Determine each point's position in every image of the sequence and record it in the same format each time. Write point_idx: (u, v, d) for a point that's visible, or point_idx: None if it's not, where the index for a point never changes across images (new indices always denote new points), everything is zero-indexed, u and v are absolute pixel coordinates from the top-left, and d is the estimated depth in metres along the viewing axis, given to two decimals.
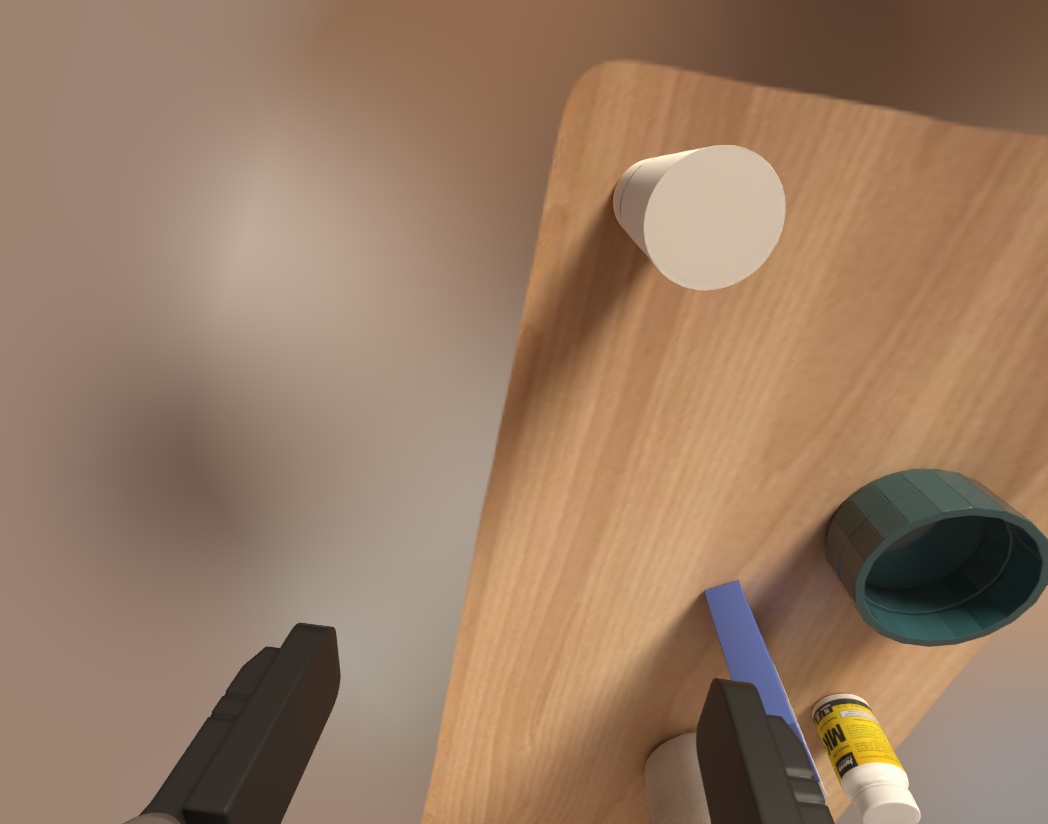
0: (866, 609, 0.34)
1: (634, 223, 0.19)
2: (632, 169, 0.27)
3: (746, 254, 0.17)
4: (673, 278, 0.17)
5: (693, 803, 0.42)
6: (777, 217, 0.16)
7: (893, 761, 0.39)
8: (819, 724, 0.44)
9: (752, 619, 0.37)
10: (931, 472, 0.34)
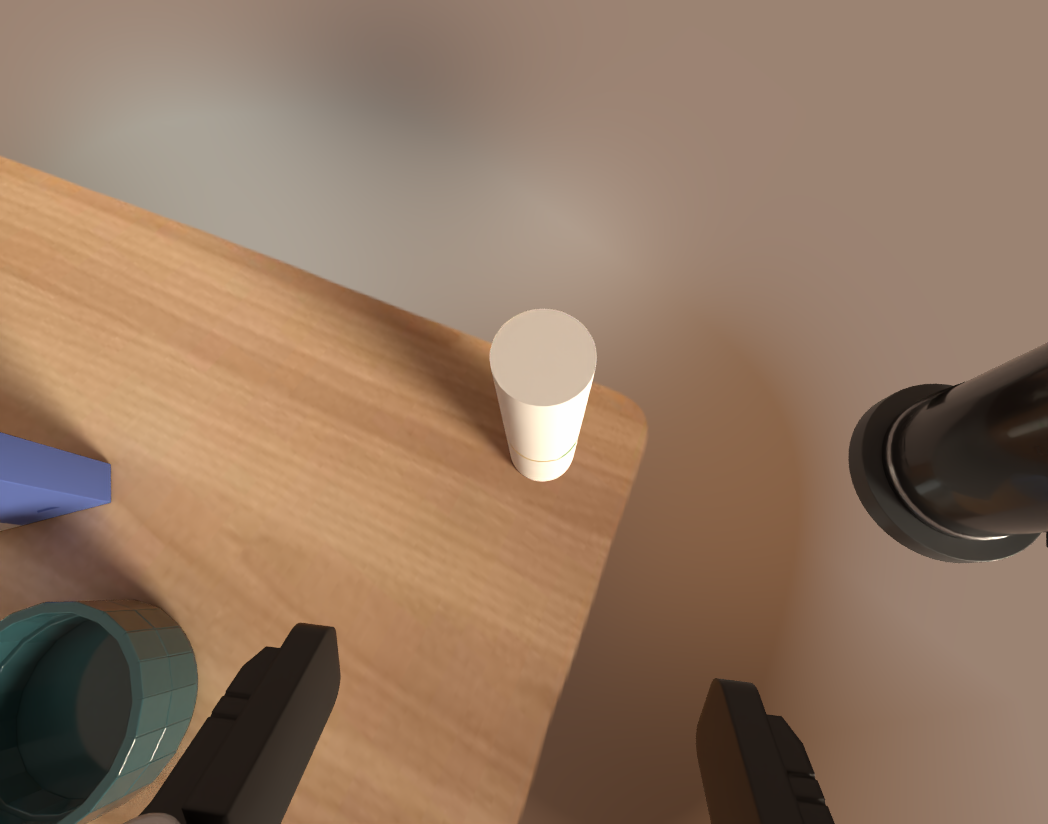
0: (26, 616, 0.28)
1: None
2: None
3: (513, 377, 0.21)
4: (505, 325, 0.21)
5: None
6: (536, 400, 0.20)
7: None
8: None
9: (59, 490, 0.31)
10: (187, 716, 0.30)
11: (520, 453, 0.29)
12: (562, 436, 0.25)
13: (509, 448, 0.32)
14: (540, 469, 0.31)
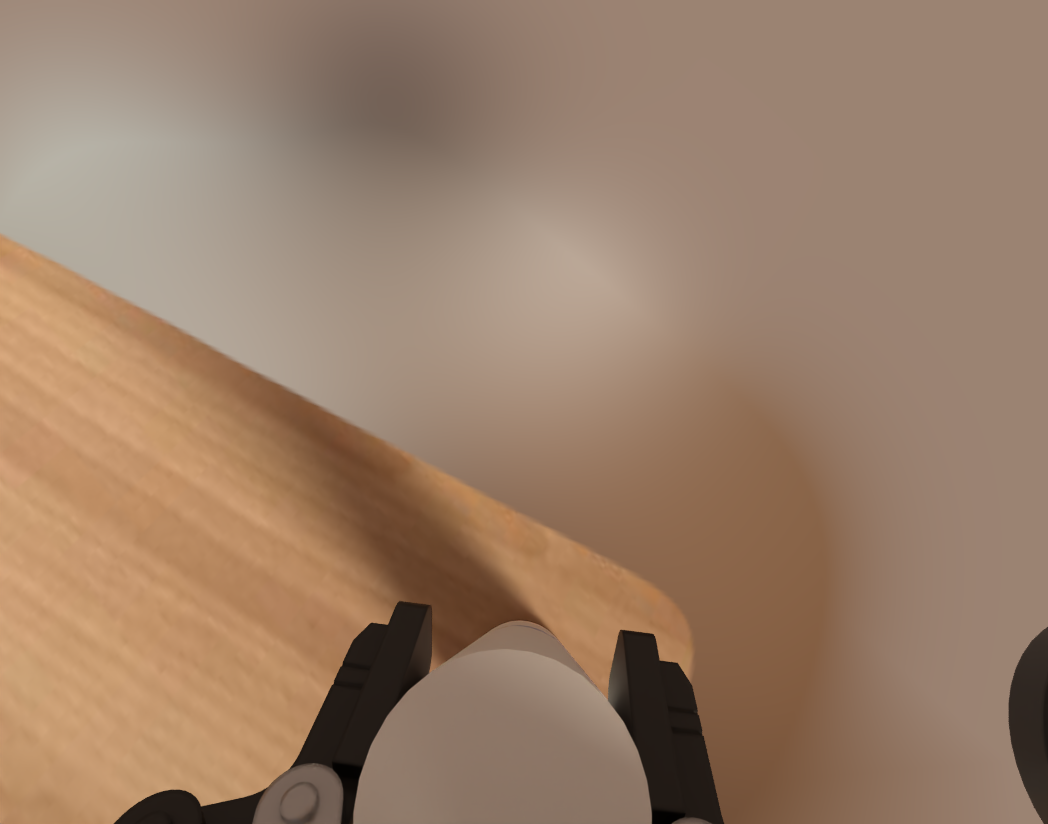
0: None
1: (525, 638, 0.11)
2: None
3: None
4: (412, 695, 0.08)
5: None
6: None
7: None
8: None
9: None
10: None
11: None
12: None
13: None
14: None
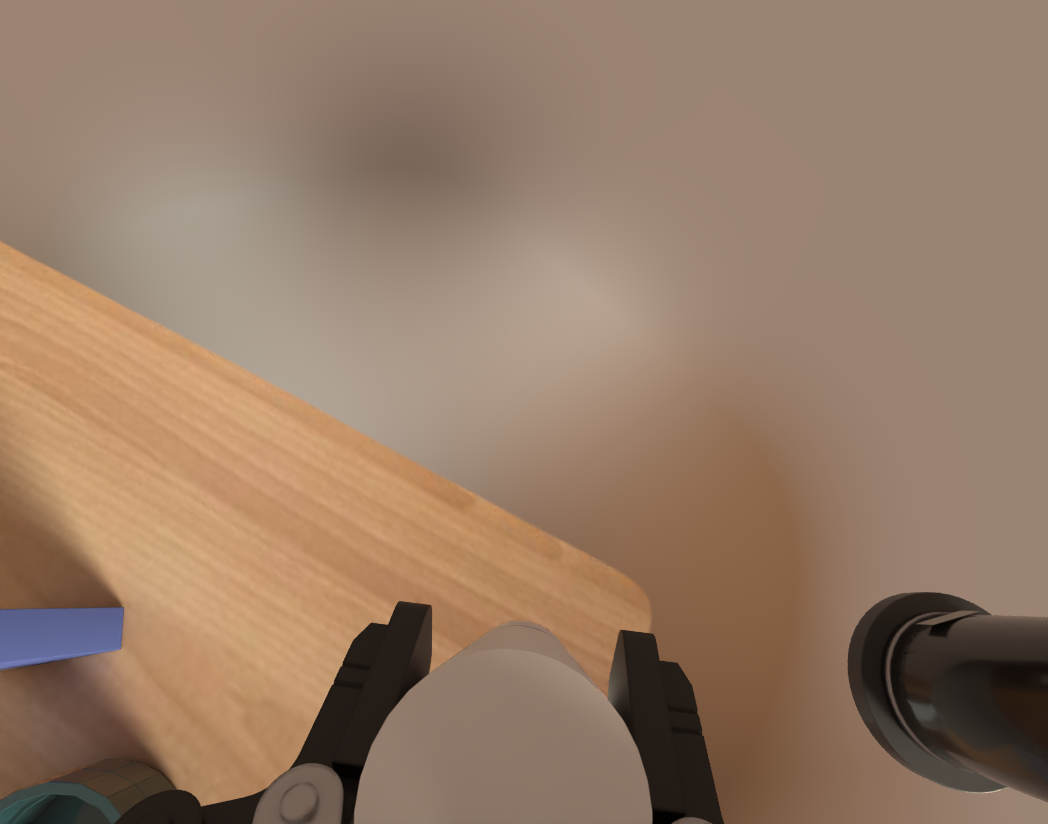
0: (31, 795, 0.28)
1: (525, 638, 0.11)
2: None
3: None
4: (413, 695, 0.08)
5: None
6: None
7: None
8: None
9: (73, 653, 0.32)
10: None
11: None
12: None
13: None
14: None
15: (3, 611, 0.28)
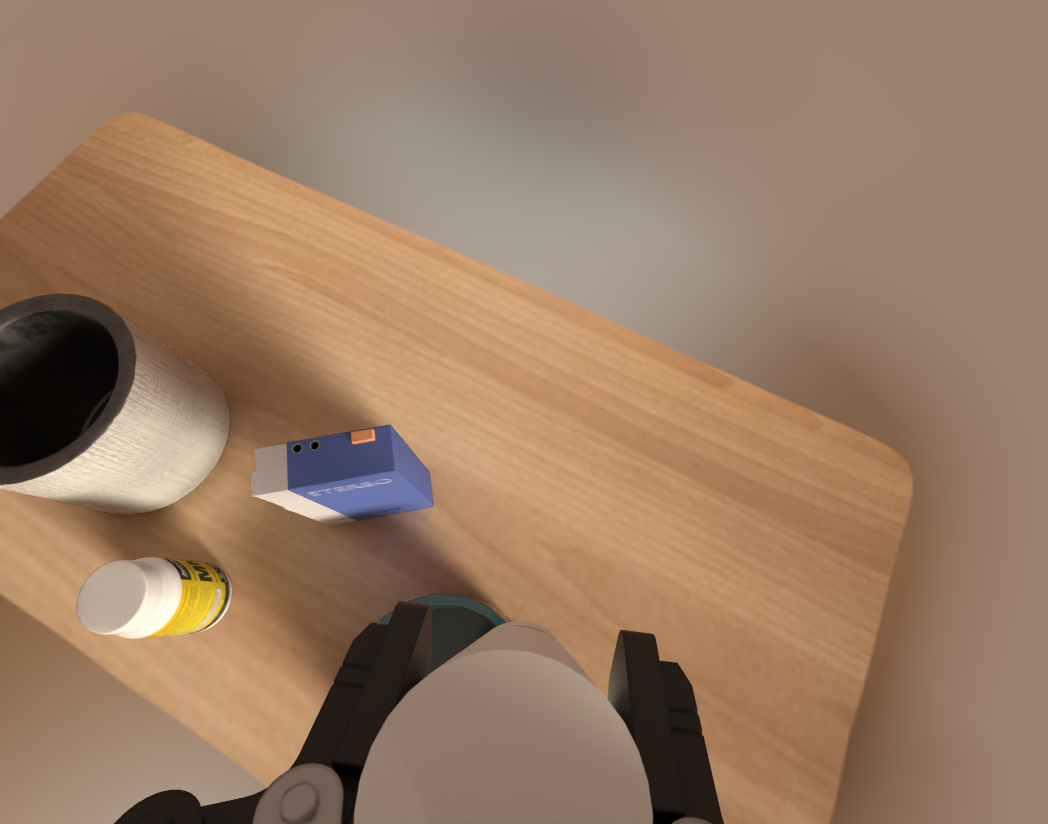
0: None
1: (525, 639, 0.11)
2: None
3: None
4: (413, 696, 0.08)
5: (184, 385, 0.36)
6: None
7: (169, 624, 0.32)
8: (205, 563, 0.37)
9: (423, 495, 0.36)
10: None
11: None
12: None
13: None
14: None
15: (402, 440, 0.32)
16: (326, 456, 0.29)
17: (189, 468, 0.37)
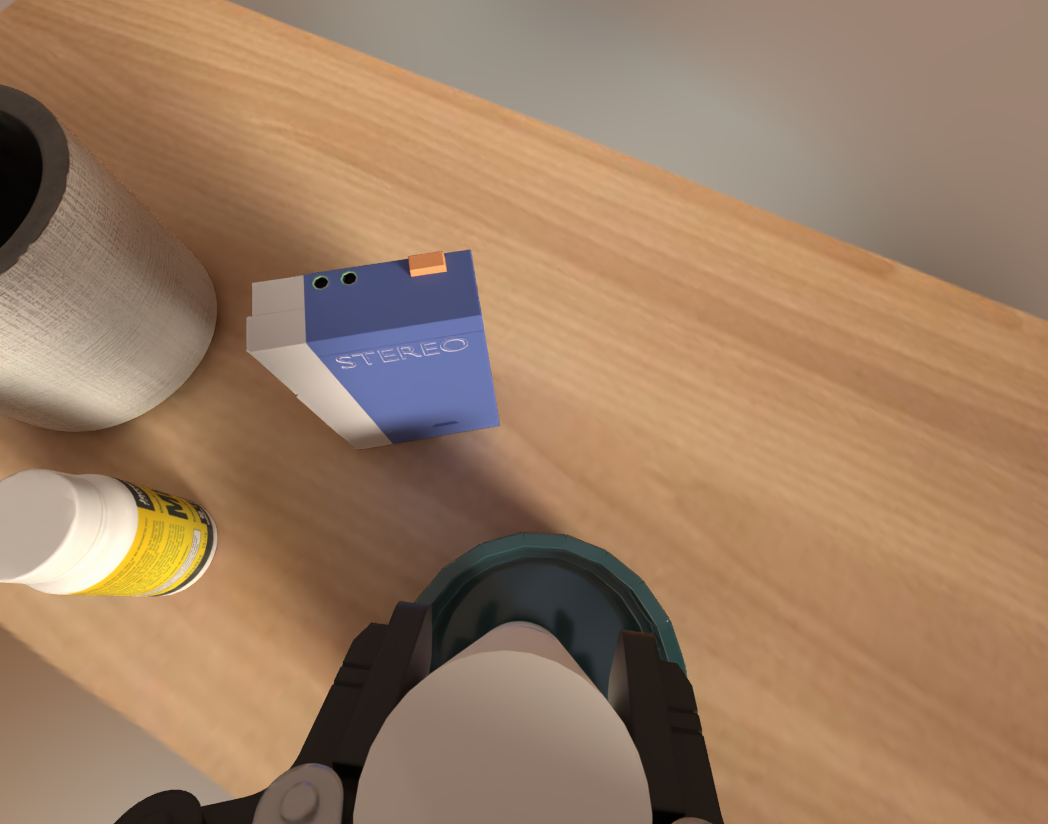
0: (504, 548, 0.21)
1: (525, 640, 0.11)
2: None
3: None
4: (412, 697, 0.08)
5: (150, 237, 0.25)
6: None
7: (117, 573, 0.20)
8: (178, 497, 0.25)
9: None
10: None
11: None
12: None
13: None
14: None
15: None
16: (368, 294, 0.18)
17: (157, 363, 0.26)
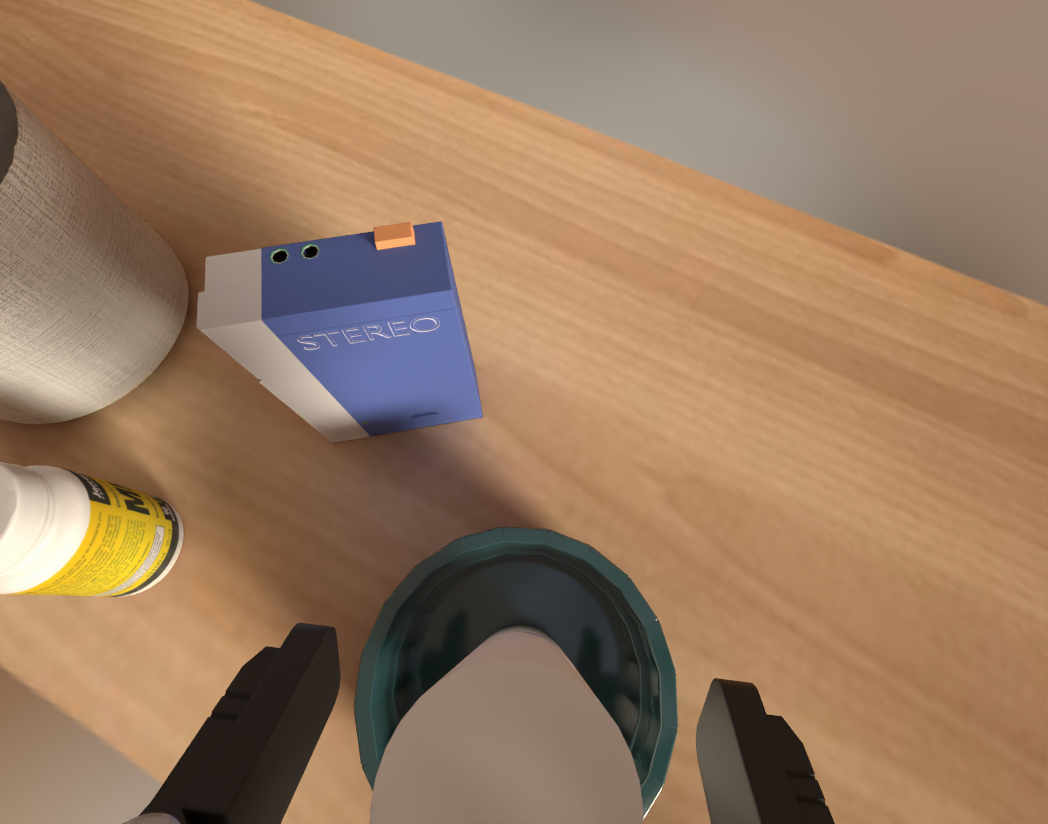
0: (481, 544, 0.20)
1: (526, 647, 0.12)
2: None
3: None
4: (423, 702, 0.09)
5: (112, 218, 0.24)
6: None
7: (66, 571, 0.19)
8: (142, 492, 0.24)
9: (475, 385, 0.23)
10: None
11: None
12: None
13: None
14: None
15: (452, 273, 0.20)
16: (330, 268, 0.16)
17: (121, 351, 0.25)
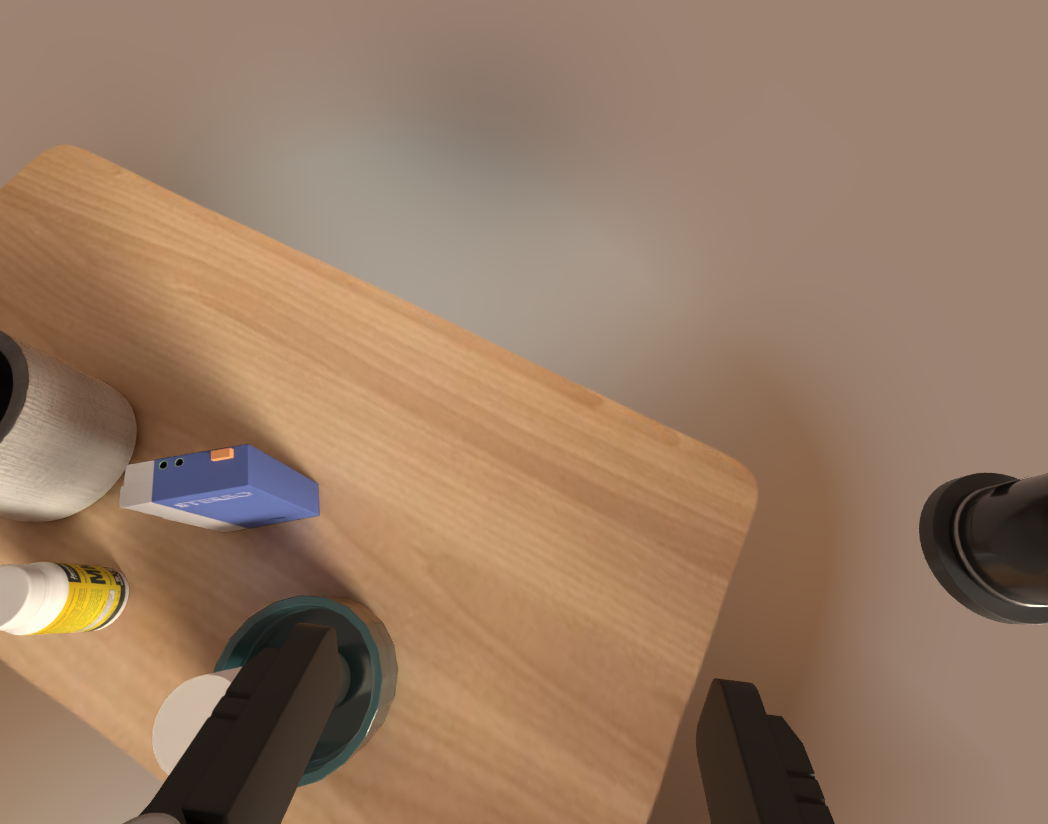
0: (286, 605, 0.36)
1: None
2: None
3: (168, 747, 0.24)
4: (176, 690, 0.25)
5: (84, 404, 0.40)
6: None
7: (55, 622, 0.35)
8: (102, 567, 0.40)
9: (299, 506, 0.39)
10: (393, 695, 0.37)
11: None
12: None
13: None
14: None
15: (268, 457, 0.35)
16: (188, 472, 0.32)
17: (91, 480, 0.41)
